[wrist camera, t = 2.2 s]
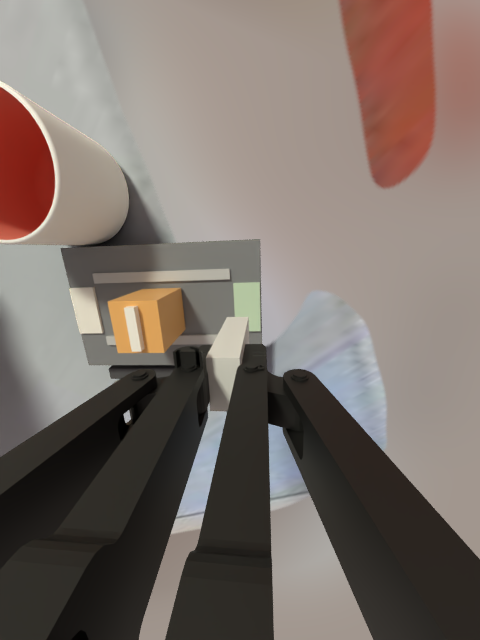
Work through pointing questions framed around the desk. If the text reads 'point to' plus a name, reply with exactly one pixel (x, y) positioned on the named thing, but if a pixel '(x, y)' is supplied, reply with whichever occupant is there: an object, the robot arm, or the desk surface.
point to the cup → (54, 179)
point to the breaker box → (165, 272)
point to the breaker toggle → (147, 320)
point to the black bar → (124, 370)
